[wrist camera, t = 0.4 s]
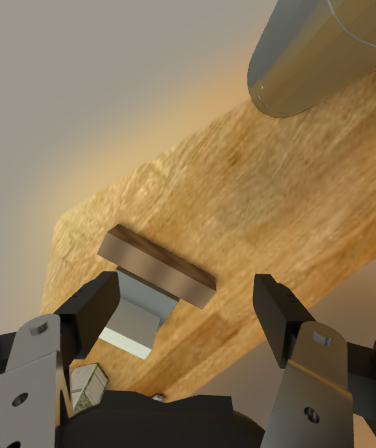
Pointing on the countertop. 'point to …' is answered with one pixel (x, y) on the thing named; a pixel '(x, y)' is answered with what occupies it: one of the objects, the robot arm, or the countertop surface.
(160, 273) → the walnut bar
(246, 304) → the countertop surface
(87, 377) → the syrup box
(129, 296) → the board
